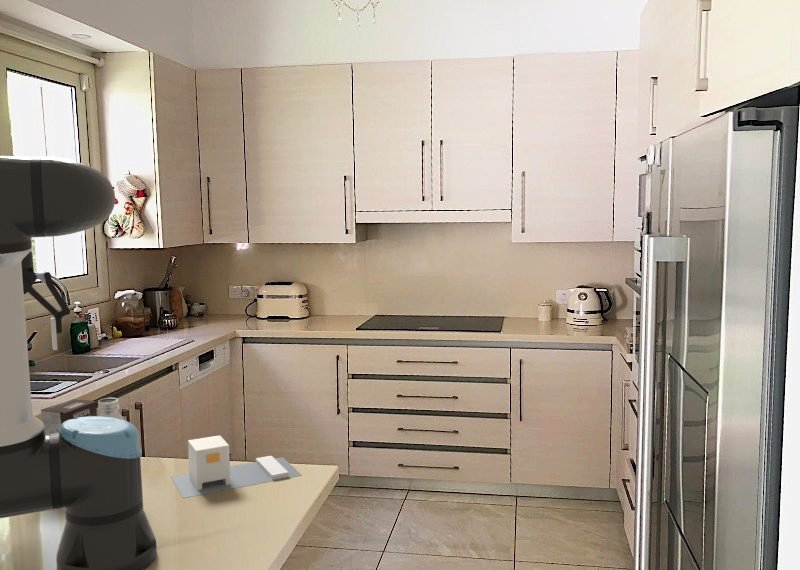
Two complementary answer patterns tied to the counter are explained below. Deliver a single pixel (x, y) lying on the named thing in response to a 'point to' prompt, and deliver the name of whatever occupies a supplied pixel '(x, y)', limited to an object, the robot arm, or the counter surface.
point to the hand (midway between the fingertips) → (18, 352)
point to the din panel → (240, 476)
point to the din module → (208, 460)
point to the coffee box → (66, 413)
